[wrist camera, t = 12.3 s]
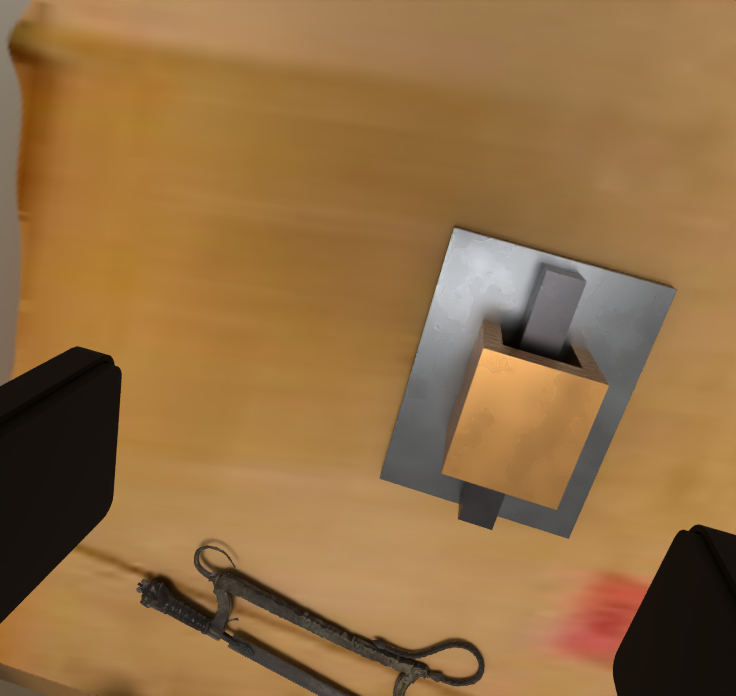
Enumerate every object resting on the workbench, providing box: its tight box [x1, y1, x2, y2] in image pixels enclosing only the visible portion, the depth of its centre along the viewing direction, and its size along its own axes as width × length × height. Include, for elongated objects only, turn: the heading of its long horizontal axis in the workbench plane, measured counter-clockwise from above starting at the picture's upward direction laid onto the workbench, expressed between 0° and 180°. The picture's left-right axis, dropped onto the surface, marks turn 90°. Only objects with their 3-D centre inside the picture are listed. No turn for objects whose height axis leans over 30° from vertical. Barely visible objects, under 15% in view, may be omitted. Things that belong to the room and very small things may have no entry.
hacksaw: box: [137, 545, 484, 696], centre depth 43 cm, size 24×10×1 cm, turn 63°
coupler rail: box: [380, 226, 677, 539], centre depth 34 cm, size 16×12×4 cm
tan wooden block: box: [441, 319, 609, 510], centre depth 32 cm, size 7×6×6 cm
